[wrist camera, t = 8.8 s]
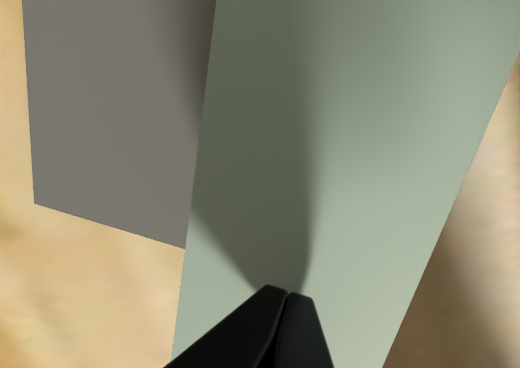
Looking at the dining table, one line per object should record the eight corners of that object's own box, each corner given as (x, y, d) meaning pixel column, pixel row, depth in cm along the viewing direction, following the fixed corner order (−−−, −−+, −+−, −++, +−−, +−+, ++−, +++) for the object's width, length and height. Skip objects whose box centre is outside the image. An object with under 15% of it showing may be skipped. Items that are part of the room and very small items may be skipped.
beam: (328, 399, 15) (309, 534, 12) (208, 359, 16) (156, 478, 12) (521, -115, 9) (608, -150, 5) (300, -156, 9) (242, -213, 6)
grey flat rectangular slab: (40, 199, 22) (32, 204, 21) (20, -181, 15) (8, -184, 15) (392, 305, 20) (392, 313, 19) (551, -80, 13) (557, -81, 13)
